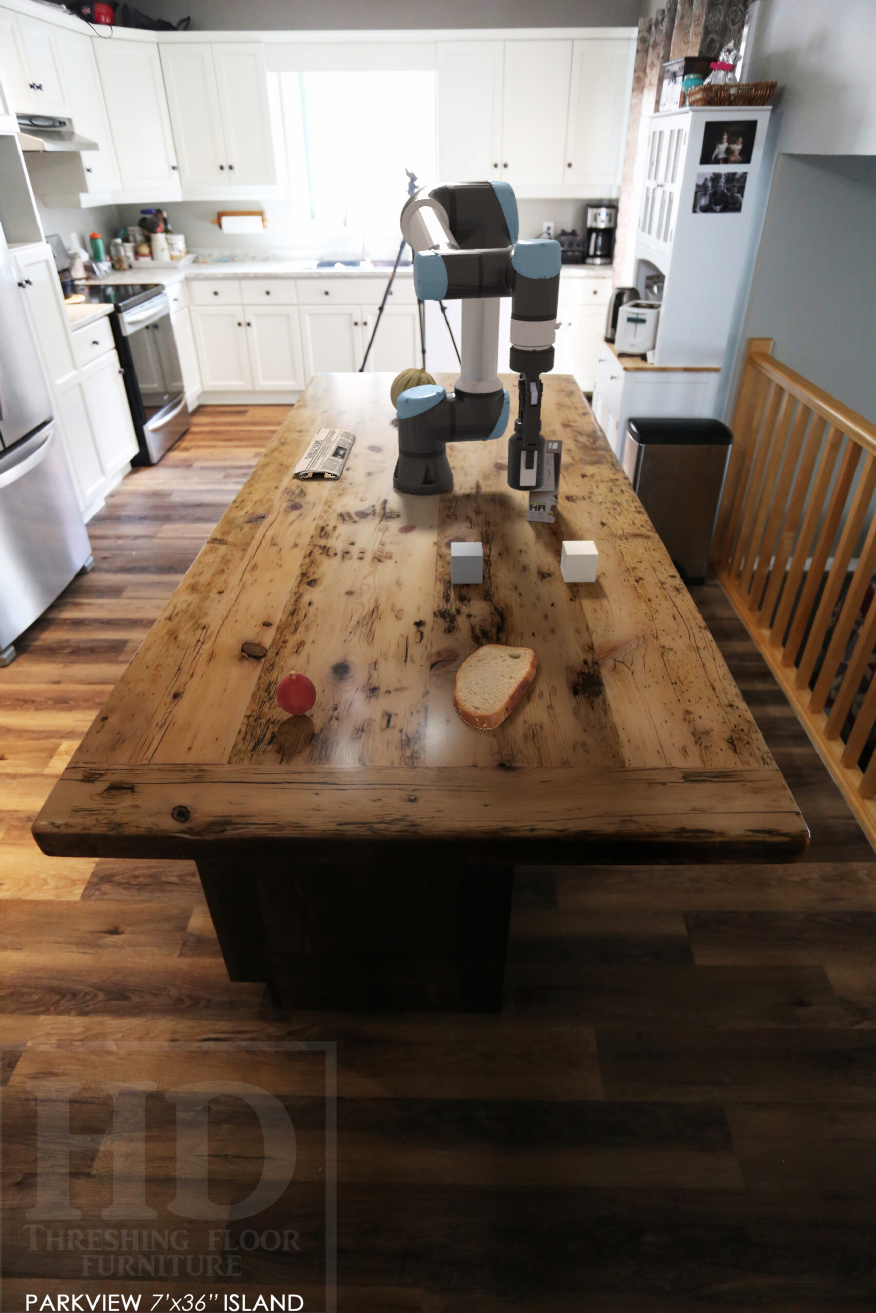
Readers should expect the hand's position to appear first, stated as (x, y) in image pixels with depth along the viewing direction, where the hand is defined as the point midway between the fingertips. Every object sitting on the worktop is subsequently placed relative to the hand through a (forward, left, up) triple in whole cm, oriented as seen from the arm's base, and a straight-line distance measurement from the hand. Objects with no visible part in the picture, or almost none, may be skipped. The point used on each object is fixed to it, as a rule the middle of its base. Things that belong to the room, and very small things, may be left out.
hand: (525, 477), depth 140 cm
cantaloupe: (-74, +80, -20) cm, 111 cm away
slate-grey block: (-9, -6, -20) cm, 23 cm away
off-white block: (+10, +5, -20) cm, 23 cm away
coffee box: (-8, +29, -20) cm, 36 cm away
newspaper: (-77, +37, -21) cm, 88 cm away
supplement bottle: (0, 0, -2) cm, 2 cm away
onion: (-10, -57, -20) cm, 61 cm away
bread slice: (+13, -36, -21) cm, 43 cm away
